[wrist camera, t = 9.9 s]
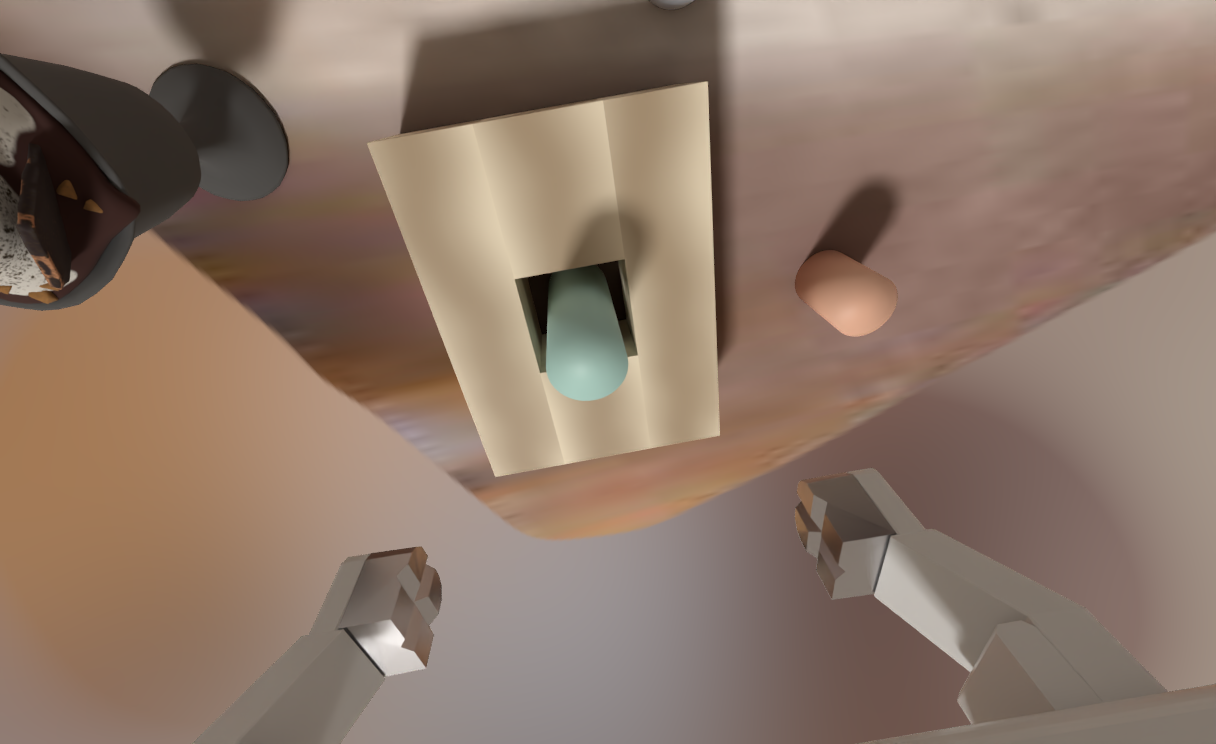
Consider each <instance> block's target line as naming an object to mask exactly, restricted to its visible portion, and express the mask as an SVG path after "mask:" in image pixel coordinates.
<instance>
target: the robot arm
mask: <svg viewBox="0 0 1216 744" xmlns="http://www.w3.org/2000/svg"><path fill="white" fill-rule="evenodd" d="M797 494H798V496H799V498H800V499H801V502H800V503H799V504H798V505H797V506H796V507H795V522H796V527H797V532H798V534H799V537H800V540H801V542H802V544H803V546H804V548H805V550H806V551H807V552H808V553H810V554H811V555H813V556H814V557H816V558H817V559H818V560H817V567H816V571H817V573H818V575H819V577H820V578H821V580H822V582H823V584H824V586H825V588H826V590H827V592H828V593H829V595H830V597H831V599H832V600H833V599H840V598H847V597H855V596H862V595H868V594H874V596H875V597H876V598H877V599H878V600H880V601H881V602H882V603H883V604H885V605H886V606H887V607H889V608H890V609H891V610H892V611H894V612H895V613H896V614H897V615H899V616H900V617H901V618H902V619H904V620H905V621H906V622H908V623H909V624H910V625H911V626H913V627H914V628H915V629H916V630H918V631H919V632H920V633H922V634H923V635H924V636H925V637H927V638H928V639H929V640H930V641H932V642H933V643H934V644H935V645H937V646H938V647H939V648H941V649H942V650H943V651H944V652H946V653H947V654H948V655H950V656H951V657H952V658H953V659H955V660H956V661H957V662H958V663H960V664H961V665H962V666H963V667H965V668H966V669H967V670H968V671H970V672H971V673H970V675H969V677H968V678H967V680H966V682H965V684H964V686H963V688H962V689H961V691H960V693H959V696H958V700H957V701H958V703H959V705H960V706H961V708H962V709H963V711H964V713H965V714H966V716H967V717H968V719H969V721H970V722H971V724H972V725H966V726H960V727H954V728H949V729H942V730H937V731H931V732H925V733H918V734H912V735H907V736H900V737H894V738H889V739H882V740H876V741H870V742H864V743H859V744H1216V684H1212V685H1206V686H1199V687H1194V688H1187V689H1181V690H1175V691H1169V692H1168V691H1167V690H1166V689H1165V688H1164V687H1163V686H1162V685H1161V684H1160V683H1159V682H1158V681H1157V680H1156V679H1155V678H1154V677H1153V676H1152V675H1151V674H1150V673H1149V672H1148V671H1147V670H1146V669H1145V668H1144V667H1143V666H1142V665H1141V664H1140V663H1139V662H1138V661H1137V660H1136V659H1135V658H1134V657H1133V656H1132V655H1131V654H1130V653H1129V652H1128V651H1127V650H1126V649H1125V648H1124V647H1123V646H1122V645H1121V644H1120V643H1119V642H1118V641H1117V639H1116V638H1114V637H1113V635H1111V634H1110V633H1109V632H1108V631H1107V629H1105V628H1104V626H1103V625H1102V624H1101V623H1100V622H1099V621H1098V620H1096V618H1095V617H1094V616H1093V615H1092V614H1091V613H1090V612H1089V611H1088V610H1087V609H1086V608H1084V607H1082V606H1080V605H1079V604H1077V603H1075V602H1073V601H1071V600H1069V599H1067V598H1065V597H1063V596H1061V595H1059V594H1057V593H1056V592H1054V591H1052V590H1050V589H1048V588H1046V587H1044V586H1042V585H1040V584H1038V583H1036V582H1035V581H1033V580H1031V579H1028V578H1027V577H1025V576H1023V575H1021V574H1019V573H1017V572H1015V571H1013V570H1012V569H1010V568H1008V567H1006V566H1004V565H1002V564H1000V563H998V562H996V561H994V560H992V559H990V558H989V557H987V556H985V555H983V554H981V553H979V552H977V551H975V550H973V549H971V548H969V547H967V546H966V545H963V544H962V543H960V542H958V541H956V540H954V539H952V538H950V537H948V536H946V535H944V534H943V533H941V532H939V531H937V530H935V529H929V530H926V529H925V528H924V527H923V526H922V525H921V523H920V522H919V521H918V520H917V518H916V517H915V516H914V515H913V514H912V512H911V511H910V510H909V509H908V508H907V507H906V505H905V504H904V503H903V501H902V500H901V499H900V498H899V497H898V496H897V494H896V493H895V492H894V491H893V489H892V488H891V487H890V486H889V485H888V483H887V482H886V481H885V480H884V479H883V477H882V476H881V475H880V474H879V472H878V471H876V470H875V469H873V468H869V469H863V470H857V471H851V472H847V473H846V472H844V473H838V474H832V475H827V476H821V477H817V478H811V479H805V480H801V481H800V482H799V484H798V488H797ZM427 557H428V555H427V554H426V552H425V551H424V549H423V548H422V547H412V548H406V549H399V550H391V551H385V552H378V553H371V554H366V555H359V556H352V557H348V558H347V559H346V560H345V561H344V562H343V563H342V564H341V566H340V568H339V570H338V573H337V575H336V577H335V579H334V581H333V583H332V585H331V588H330V590H329V592H328V594H327V596H326V599H325V601H324V603H323V605H322V607H321V609H320V612H319V614H318V616H317V618H316V620H315V623H314V625H313V627H312V629H311V631H310V633H309V635H305V636H302V637H300V638H299V639H298V640H297V641H296V642H295V643H294V644H293V645H292V646H291V647H290V648H289V649H288V650H287V651H286V652H285V653H284V654H283V655H282V656H281V657H280V658H279V659H278V660H277V661H276V662H275V663H274V664H273V665H272V666H271V667H270V668H269V669H268V670H267V671H266V672H265V673H264V674H263V675H261V676H260V677H259V678H258V679H257V680H256V681H255V683H253V684H252V685H251V686H250V687H249V688H248V689H247V690H246V691H245V692H244V693H243V694H242V695H241V696H240V697H239V698H238V699H237V700H236V701H235V702H234V703H233V704H232V705H231V706H230V707H229V708H228V709H227V710H226V711H225V712H224V713H223V714H222V715H221V716H220V717H219V718H218V719H217V720H216V721H215V722H213V724H211V725H210V727H208V728H207V729H206V730H205V731H204V732H203V733H202V734H201V735H200V736H199V737H198V738H197V739H196V740H195V741H194V742H193V743H192V744H341V742H342V741H343V739H344V738H345V736H346V735H347V733H348V732H349V731H350V729H351V728H352V726H353V725H354V723H355V722H356V721H357V719H358V718H359V716H360V715H361V713H362V712H363V711H364V709H365V708H366V706H367V705H368V703H369V702H370V701H371V699H372V698H373V696H374V695H375V693H376V692H377V690H378V689H379V687H380V686H381V685H382V683H383V682H384V680H385V678H384V677H385V676H391V675H395V674H400V673H405V672H410V671H416V670H420V669H426V667H427V663H428V659H429V654H430V650H431V646H432V641H433V637H434V634H433V632H432V630H431V629H430V626H429V625H430V624H431V623H432V621H433V620H434V619H435V618H436V616H437V615H438V614H439V610H440V606H441V601H442V585H441V582H440V577H439V575H438V573H437V571H436V569H434V568H432V567H430V566H429V565H426V561H427Z"/></svg>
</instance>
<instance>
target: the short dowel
mask: <svg viewBox="0 0 1216 744" xmlns="http://www.w3.org/2000/svg"><path fill="white" fill-rule="evenodd" d="M795 289H796V293H797V295H798V296H799V297H800V298H801V299H802V300H803V301H804V302H805V303H806V304H808V305H809V306H810V307H811V308H812V309H814V310H815V311H816V312H817V313H818V314H820V315H821V316H822V317H823V318H824V319H826V320H827V321H828V322H829V323H830V324H832V325H833V326H834V327H835V328H836V329H838V330H839V331H840V332H841V333H843V334H845V335H848V336H863V335H866V334H869V333H871V332H873V331H875V330H877V329H878V328H880V327H881V326H882V325H883V324H884V323H885V322H886V321H887V320H888V319H889V318H890V316H891V315H892V313H893V312H894V310H895V307H896V304H897V299H898V293H897V289H896V287H895V285H894V283H893V282H892V281H891V280H889V279H888V278H886V277H884V276H882V275H880V274H879V273H877V272H875V271H873V270H871V269H870V268H868V267H866V266H864V265H862V264H861V263H859V262H857V261H855V260H853V259H852V258H850V257H848V256H846V255H844V254H843V253H841V252H839V251H835V250H825V251H821V252H818V253H816V254H814V255H813V256H811V257H810V258H808V259H807V260H806V261H805V262H804V263H803V265H802V266H801V267H800V269H799V271H798V273H797V275H796V279H795Z"/></svg>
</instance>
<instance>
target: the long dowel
mask: <svg viewBox="0 0 1216 744" xmlns="http://www.w3.org/2000/svg"><path fill="white" fill-rule="evenodd" d="M627 371H628V357H627V353H626V350H625V346H624V342H623V339H622V335H621V331H620V328H619V324H618V320H617V317H616V313H615V310H614V306H613V302H612V299H611V295H610V291H609V288H608V284H607V281H606V278H605V275H604V273H603V272H602V270H601V269H600V268H599V267H598V266H597V265H590V266H584V267H579V268H573V269H568V270H562V271H557V272H553V273H552V275H551V277H550V280H549V286H548V317H547V349H546V372H547V376H548V379H549V381H550V383H551V384H552V385H553V387H554V388H555V389H556V390H557V391H558V392H560V393H561V394H563V395H564V396H566V397H568V398H571V399H574V400H580V401H591V400H597V399H601V398H603V397H606V396H608V395H609V394H611V393H613V392H614V391H615V390H616V389H617V388H618V387H619V386H620V385H621V384H622V382H623V381H624V379H625V377H626V374H627Z"/></svg>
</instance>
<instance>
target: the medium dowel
mask: <svg viewBox="0 0 1216 744" xmlns="http://www.w3.org/2000/svg"><path fill="white" fill-rule="evenodd" d="M649 1H650V2H651V3H653V4H654V5H656V6H657V7H660V8H662V9H666V10H675V9H680V8H683V7H685V6H687V5H688V4H690V3H692V2H693V1H695V0H649Z"/></svg>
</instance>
